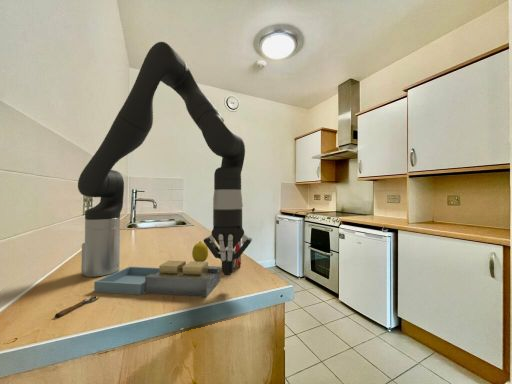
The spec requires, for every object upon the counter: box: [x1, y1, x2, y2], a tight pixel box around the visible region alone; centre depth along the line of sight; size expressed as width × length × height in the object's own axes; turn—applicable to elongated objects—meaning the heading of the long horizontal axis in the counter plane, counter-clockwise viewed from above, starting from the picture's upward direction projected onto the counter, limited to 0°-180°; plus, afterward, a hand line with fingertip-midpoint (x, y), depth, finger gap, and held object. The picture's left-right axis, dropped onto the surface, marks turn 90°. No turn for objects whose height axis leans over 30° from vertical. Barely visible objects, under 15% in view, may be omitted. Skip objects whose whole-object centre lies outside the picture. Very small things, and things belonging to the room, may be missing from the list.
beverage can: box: [234, 239, 242, 269], centre depth 73 cm, size 6×6×12 cm
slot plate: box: [144, 265, 221, 298], centre depth 56 cm, size 16×10×4 cm, turn 81°
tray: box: [93, 266, 159, 295], centre depth 58 cm, size 13×12×2 cm
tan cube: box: [158, 260, 187, 275], centre depth 57 cm, size 5×4×3 cm
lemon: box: [191, 241, 209, 262], centre depth 76 cm, size 6×6×8 cm
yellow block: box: [183, 260, 209, 277], centre depth 56 cm, size 5×4×3 cm
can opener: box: [54, 295, 100, 319], centre depth 46 cm, size 9×2×1 cm, turn 165°
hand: (227, 274), depth 54 cm, fingers closed
